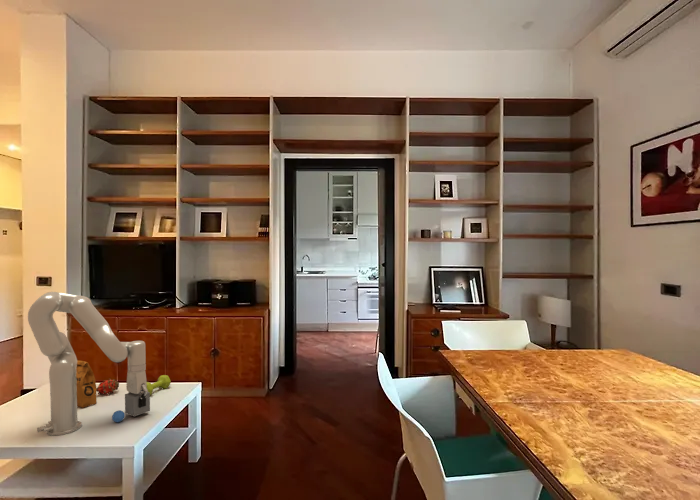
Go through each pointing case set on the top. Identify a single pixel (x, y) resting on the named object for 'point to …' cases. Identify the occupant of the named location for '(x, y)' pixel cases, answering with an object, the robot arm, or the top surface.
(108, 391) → the dragon fruit
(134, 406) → the grey square block
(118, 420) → the ball
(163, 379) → the dumbbell
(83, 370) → the coffee package
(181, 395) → the top surface
